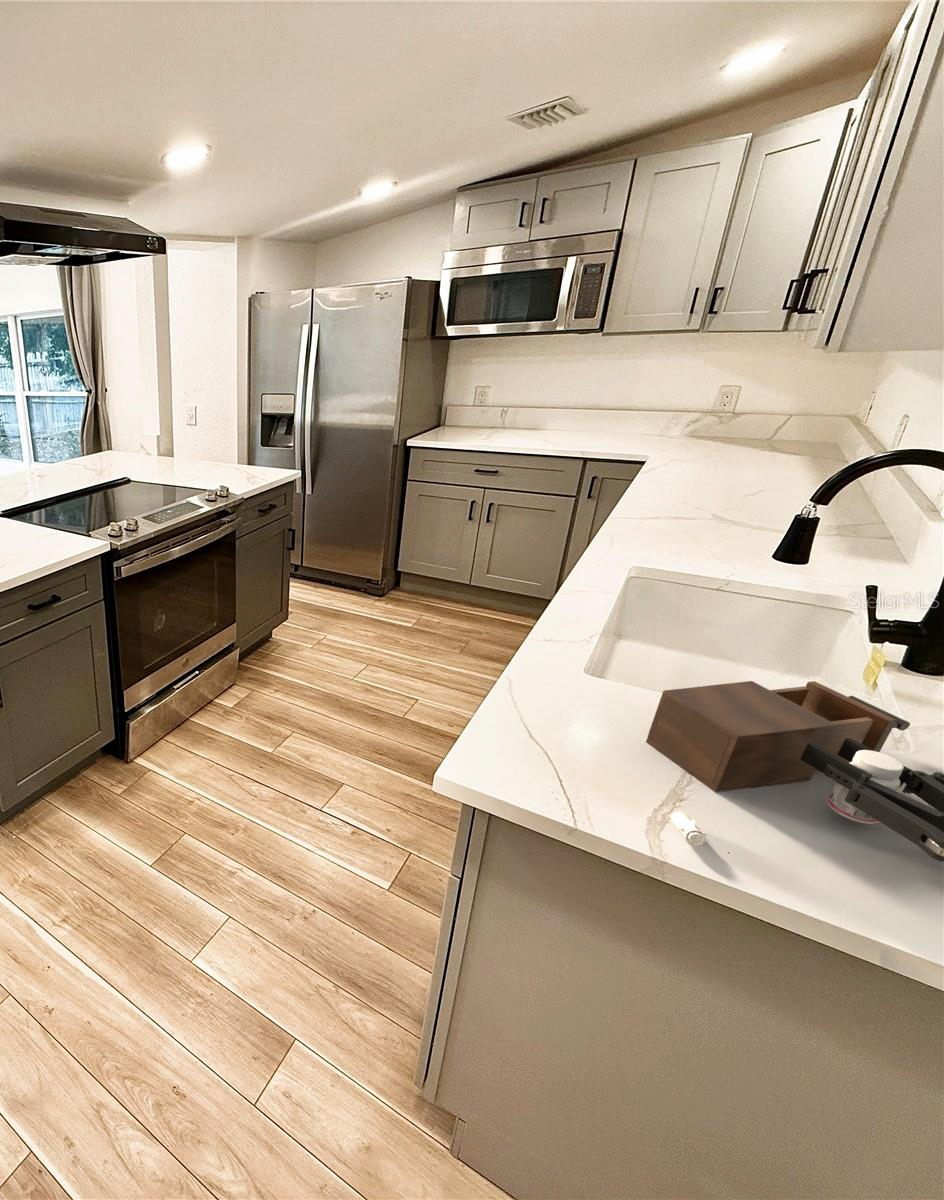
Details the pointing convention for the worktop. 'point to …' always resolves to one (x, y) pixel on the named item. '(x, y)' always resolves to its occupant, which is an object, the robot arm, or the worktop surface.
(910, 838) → the robot arm
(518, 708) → the worktop surface
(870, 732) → the drawer
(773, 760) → the cabinet
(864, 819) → the pill bottle
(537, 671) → the worktop surface
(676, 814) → the small white plastic part
